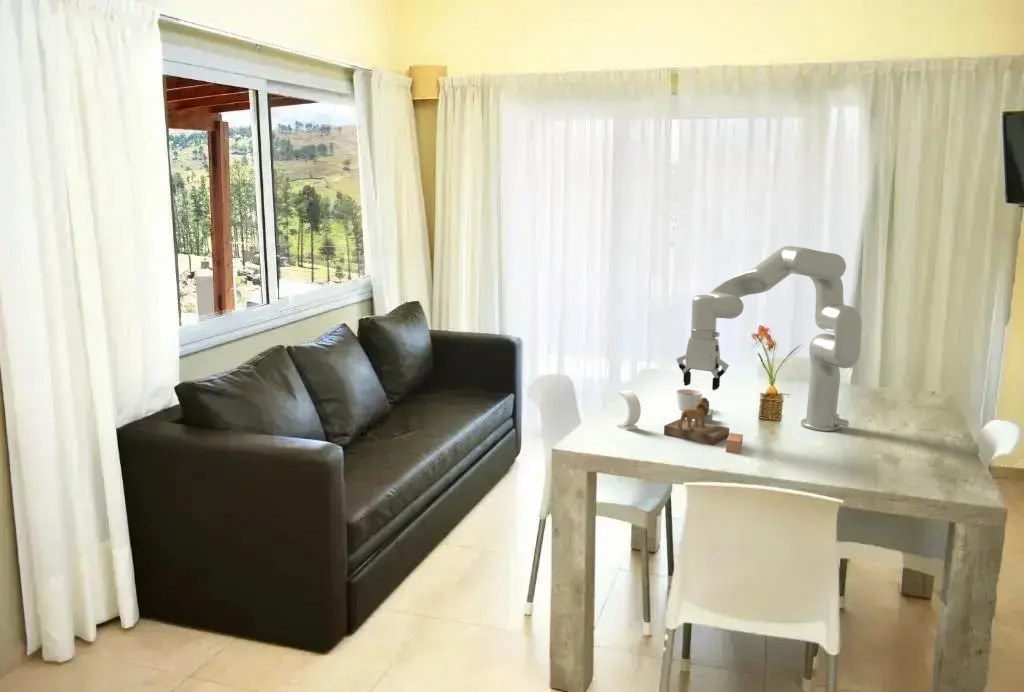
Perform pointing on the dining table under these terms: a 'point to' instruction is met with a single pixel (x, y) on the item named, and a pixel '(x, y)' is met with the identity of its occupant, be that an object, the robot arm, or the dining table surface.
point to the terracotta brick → (734, 443)
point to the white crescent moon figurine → (631, 410)
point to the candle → (688, 398)
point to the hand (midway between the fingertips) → (701, 387)
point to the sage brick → (707, 417)
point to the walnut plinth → (697, 432)
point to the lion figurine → (695, 413)
